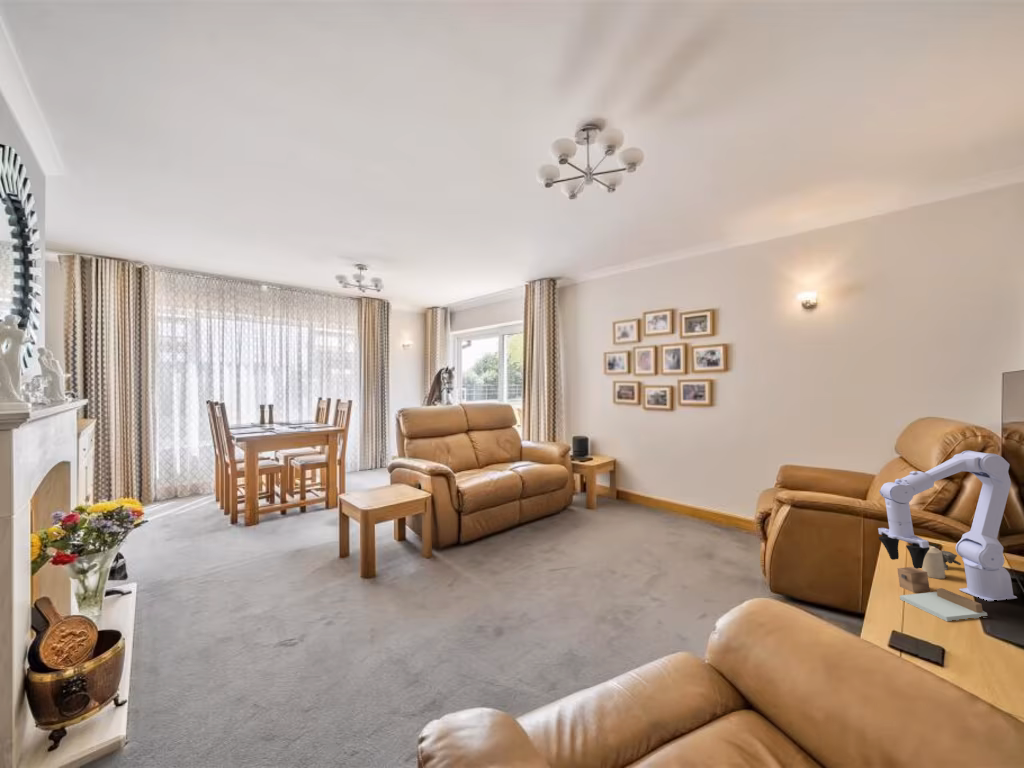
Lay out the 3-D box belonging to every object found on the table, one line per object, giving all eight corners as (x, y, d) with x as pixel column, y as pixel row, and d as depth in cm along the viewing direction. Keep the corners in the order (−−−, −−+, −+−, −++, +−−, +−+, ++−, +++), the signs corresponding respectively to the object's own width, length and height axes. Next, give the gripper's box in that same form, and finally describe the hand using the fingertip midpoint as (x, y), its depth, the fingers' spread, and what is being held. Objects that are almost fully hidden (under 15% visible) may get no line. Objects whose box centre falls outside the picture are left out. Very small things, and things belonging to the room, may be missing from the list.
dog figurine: (914, 566, 151) (911, 545, 152) (914, 561, 155) (911, 541, 156) (962, 573, 143) (959, 551, 143) (961, 567, 147) (958, 546, 147)
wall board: (936, 595, 130) (935, 584, 130) (987, 617, 116) (985, 604, 117) (900, 599, 129) (898, 588, 130) (947, 621, 116) (945, 609, 116)
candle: (950, 579, 140) (945, 548, 140) (931, 579, 141) (926, 549, 141) (937, 572, 145) (932, 543, 146) (918, 572, 146) (914, 543, 147)
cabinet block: (915, 585, 138) (913, 566, 138) (929, 591, 133) (927, 572, 133) (898, 586, 137) (895, 568, 138) (911, 592, 133) (909, 573, 133)
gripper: (867, 516, 141) (873, 556, 140) (910, 528, 126) (917, 573, 125) (887, 514, 141) (893, 554, 140) (932, 525, 127) (939, 570, 126)
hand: (906, 563), depth 133 cm, fingers open, 7 cm apart
